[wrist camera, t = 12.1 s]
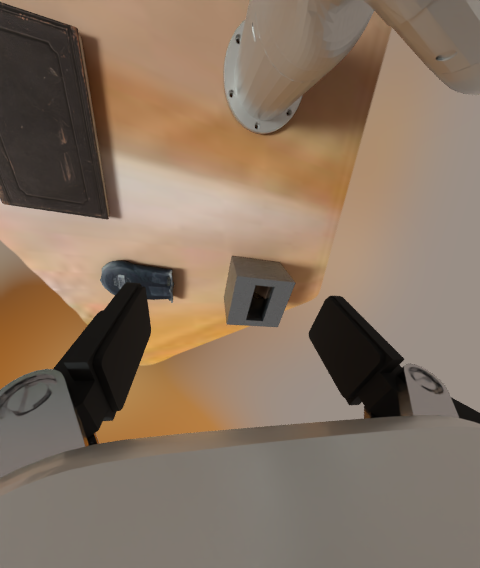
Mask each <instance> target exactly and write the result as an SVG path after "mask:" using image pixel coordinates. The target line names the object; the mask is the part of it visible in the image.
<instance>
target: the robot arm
mask: <svg viewBox="0 0 480 568" xmlns="http://www.w3.org/2000/svg"><path fill="white" fill-rule="evenodd" d="M374 11H375V12H376V13H377V14H378V15H379V16H380V17H381V18H382V19H383V21H384V22H385V23H386V24H387V25H388V26H391V27H392V28H393V29H394V30H395V31H396V32H397V33H398V34H399V35H400V37H401V38H402V39H403V40H404V41H405V42H406V43H407V45H408V46H409V47H410V48H411V49H412V50H413V51H414V52H415V54H416V55H417V56H418V57H419V58H420V59H421V60H422V61H423V62H424V64H425V65H426V66H427V67H428V68H429V69H430V70H431V71H432V72H433V73H434V74H435V75H436V76H437V77H438V78H439V79H440V80H441V81H442V82H443V83H445V84H446V85H447V86H448V87H449V88H451V89H453V90H455V91H457V92H460V93H463V94H472V95H479V94H480V0H250V1H249V6H248V10H247V15H246V19H245V20H244V21H243V22H242V23H241V24H240V26H239V27H238V28H237V29H236V31H235V33H234V35H233V36H232V38H231V40H230V43H229V46H228V49H227V52H226V57H225V63H224V88H225V94H226V98H227V101H228V105H229V107H230V109H231V111H232V113H233V115H234V116H235V118H236V119H237V121H238V122H239V123H240V124H241V125H242V126H243V127H244V128H246V129H248V130H249V131H251V132H254V133H257V134H268V133H272V132H274V131H277V130H278V129H280V128H281V127H283V126H284V125H285V124H286V123H287V122H288V121H289V120H290V119H291V118H292V116H293V115H294V113H295V112H296V110H297V108H298V106H299V104H300V101H301V99H302V96H303V94H304V93H305V92H307V91H308V90H309V89H310V88H311V87H312V86H313V85H315V84H316V83H317V82H318V81H319V80H320V79H321V78H323V77H324V76H325V75H326V74H327V73H328V72H329V71H331V70H332V69H333V68H334V67H335V66H336V65H337V64H338V63H339V62H340V61H341V60H342V59H343V58H344V57H345V56H346V55H347V54H348V53H349V52H350V50H351V49H352V48H353V47H354V45H355V44H356V42H357V41H358V39H359V38H360V36H361V35H362V33H363V31H364V30H365V28H366V26H367V24H368V22H369V20H370V18H371V16H372V14H373V12H374ZM236 41H239V43H240V44H237V43H236ZM230 94H232V95H233V97H230ZM287 112H288V116H287V114H286V113H287ZM255 125H257V129H256V128H255ZM150 334H151V324H150V317H149V309H148V302H147V294H146V288H145V287H142V286H141V284H140V283H129V282H126V283H125V284H124V285H123V286H122V287H121V289H120V290H119V291H118V293H117V294H116V295H115V297H114V298H113V299H112V300H111V302H110V303H109V304H108V306H107V307H106V308H105V310H104V311H100V312H99V313H98V314H97V315H96V316H95V317H94V318H93V320H92V321H91V322H90V323H89V325H88V326H87V327H86V329H85V330H84V331H83V332H82V334H81V335H80V336H79V337H78V339H77V340H76V341H75V342H74V344H73V345H72V346H71V347H70V349H69V350H68V351H67V352H66V354H65V355H64V356H63V357H62V359H61V360H60V361H59V362H58V364H57V365H56V366H55V367H54V369H53V370H52V369H45V370H38V371H34V372H31V373H29V374H26V375H23V376H22V377H19V378H17V379H16V380H14V381H12V382H10V383H9V384H8V385H6V386H5V387H3V388H2V389H1V390H0V568H480V413H479V412H477V411H475V410H473V409H471V408H470V407H468V406H466V405H464V404H462V403H460V402H459V401H457V400H455V399H453V398H451V397H450V394H449V392H448V390H447V388H446V387H445V385H444V384H443V383H442V382H441V381H440V380H439V379H438V378H437V377H436V376H435V375H433V374H432V373H431V372H429V371H428V370H426V369H424V368H422V367H420V366H418V365H415V364H406V365H405V366H404V367H403V368H402V367H401V366H400V365H399V364H400V363H401V362H402V361H403V360H404V358H403V357H402V356H401V355H400V354H399V353H398V352H397V351H396V350H395V349H394V348H393V347H392V346H391V345H390V344H388V342H387V341H386V340H385V339H384V338H383V337H382V336H381V335H380V334H379V333H378V332H377V331H376V330H375V329H374V328H373V327H372V326H371V325H370V324H369V323H368V322H367V321H366V320H365V319H364V318H363V317H362V316H361V315H360V314H359V313H358V312H357V311H356V310H355V309H354V308H353V307H352V306H351V305H350V304H349V303H348V302H347V301H346V300H345V299H344V298H343V297H341V296H329V297H328V298H327V299H326V300H325V301H324V304H323V306H322V307H321V309H320V311H319V313H318V315H317V317H316V319H315V321H314V323H313V325H312V328H311V330H310V331H309V338H310V340H311V341H312V343H313V345H314V347H315V349H316V351H317V352H318V354H319V356H320V358H321V359H322V361H323V363H324V365H325V367H326V368H327V370H328V372H329V374H330V375H331V377H332V379H333V381H334V383H335V384H336V386H337V388H338V390H339V391H340V393H341V395H342V396H343V397H344V398H345V399H346V400H347V402H348V404H349V405H359V404H360V403H361V402H363V404H364V405H365V406H364V419H355V420H340V421H328V422H315V423H303V424H291V425H279V426H266V427H255V428H243V429H231V430H220V431H208V432H198V433H186V434H175V435H166V436H157V437H147V438H138V439H128V440H120V441H115V442H108V443H101V444H99V442H98V439H97V436H96V433H95V432H97V431H98V430H99V428H100V426H101V423H102V421H110V420H111V421H112V420H113V419H114V417H115V414H116V411H120V410H121V409H122V408H123V405H124V403H125V401H126V398H127V395H128V393H129V390H130V387H131V385H132V382H133V379H134V377H135V374H136V371H137V369H138V366H139V364H140V361H141V358H142V356H143V353H144V350H145V348H146V345H147V342H148V340H149V337H150Z"/></svg>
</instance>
